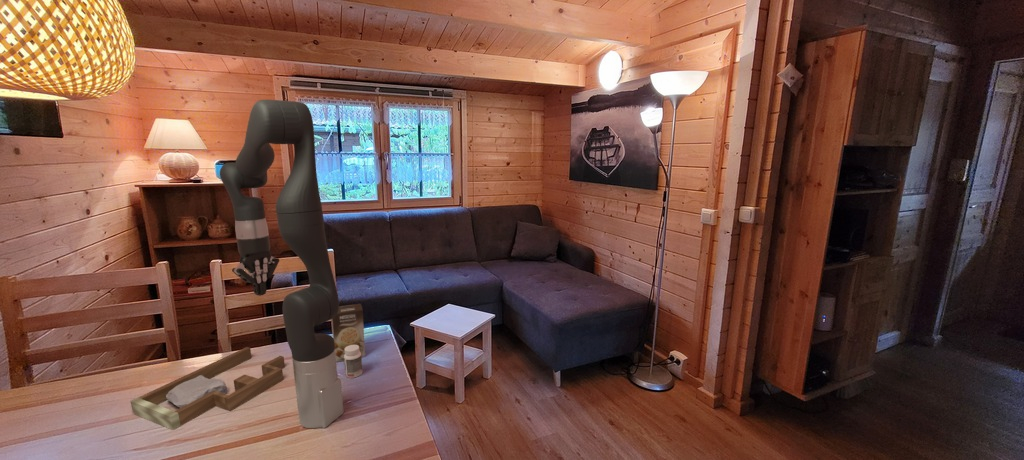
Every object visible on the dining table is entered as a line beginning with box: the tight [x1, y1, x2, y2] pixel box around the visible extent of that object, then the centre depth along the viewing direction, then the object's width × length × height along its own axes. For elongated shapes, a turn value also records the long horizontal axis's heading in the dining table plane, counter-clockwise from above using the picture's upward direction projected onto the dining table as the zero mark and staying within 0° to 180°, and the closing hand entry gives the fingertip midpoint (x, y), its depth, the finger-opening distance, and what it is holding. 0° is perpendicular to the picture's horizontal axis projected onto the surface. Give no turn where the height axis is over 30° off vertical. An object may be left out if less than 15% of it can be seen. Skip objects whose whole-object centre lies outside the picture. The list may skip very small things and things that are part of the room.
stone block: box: [166, 375, 228, 409], centre depth 104 cm, size 12×5×10 cm
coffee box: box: [331, 303, 366, 363], centre depth 125 cm, size 9×6×16 cm
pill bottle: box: [343, 345, 363, 379], centre depth 115 cm, size 5×5×8 cm
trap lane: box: [130, 346, 286, 431], centre depth 107 cm, size 22×30×4 cm
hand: (261, 294), depth 112 cm, fingers closed
